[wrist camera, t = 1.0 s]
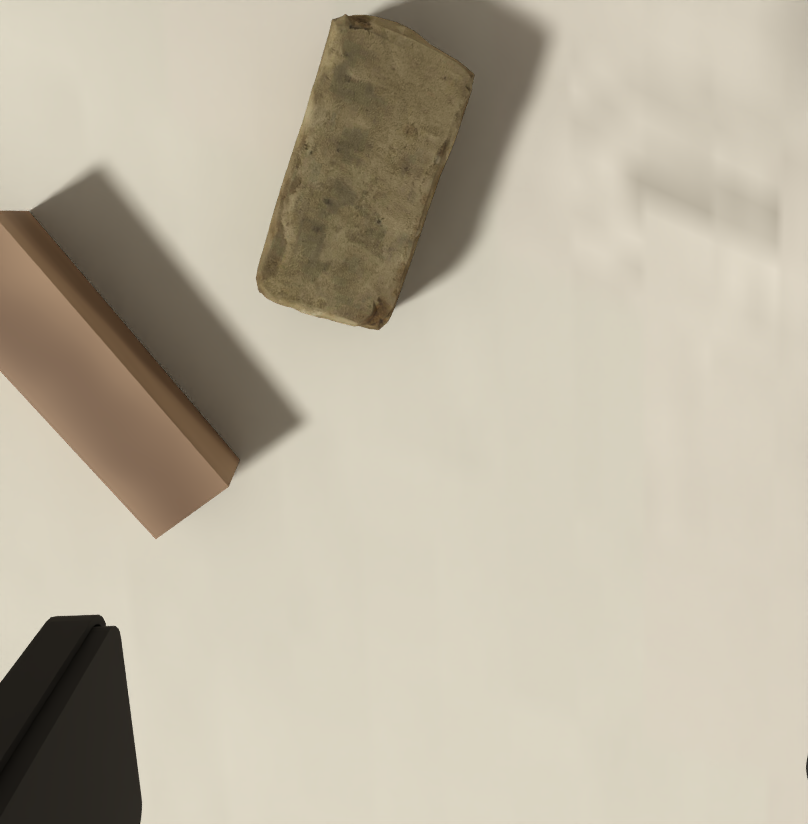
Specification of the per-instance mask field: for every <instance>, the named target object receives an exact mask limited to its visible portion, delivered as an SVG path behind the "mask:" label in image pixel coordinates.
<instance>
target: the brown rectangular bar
mask: <svg viewBox="0 0 808 824" xmlns="http://www.w3.org/2000/svg"><path fill="white" fill-rule="evenodd" d="M0 371H1V372H2V373H3V374H4V376H5V377H6V378H7V379H8V380H9V381H10V382H11V383H12V384H13V385H14V386H15V387H16V389H17V390H18V391H19V392H20V393H21V394H22V395H23V396H24V397H25V398H26V399H27V400H28V402H29V403H30V404H31V405H32V406H33V407H34V408H35V409H36V410H37V411H38V412H39V413H40V414H41V416H42V417H43V418H44V419H45V420H46V421H47V422H48V423H49V424H50V425H51V426H52V427H53V429H54V430H55V431H56V432H57V433H58V434H59V435H60V436H61V437H62V438H63V439H64V440H65V441H66V443H67V444H68V445H69V446H70V447H71V448H72V449H73V450H74V451H75V452H76V453H77V454H78V456H79V457H80V458H81V459H82V460H83V461H84V462H85V463H86V464H87V465H88V466H89V467H90V469H91V470H92V471H93V472H94V473H95V474H96V475H97V476H98V477H99V478H100V479H101V480H102V481H103V483H104V484H105V485H106V486H107V487H108V488H109V489H110V490H111V491H112V492H113V493H114V494H115V496H116V497H117V498H118V499H119V500H120V501H121V502H122V503H123V504H124V505H125V506H126V507H127V508H128V510H129V511H130V512H131V513H132V514H133V515H134V516H135V517H136V518H137V519H138V520H139V521H140V523H141V524H142V525H143V526H144V527H145V528H146V529H147V530H148V531H149V532H150V533H151V534H152V536H153V537H154V538H155V539H157V538H158V537H159V536H161V535H162V534H164V533H165V532H166V531H168V530H169V529H171V528H172V527H173V526H175V525H176V524H178V523H179V522H180V521H182V520H183V519H184V518H186V517H187V516H189V515H190V514H191V513H193V512H194V511H196V510H197V509H198V508H200V507H201V506H203V505H204V504H205V503H207V502H208V501H209V500H211V499H212V498H214V497H215V496H216V495H218V494H219V493H221V492H222V491H223V490H225V489H226V488H228V487H229V485H230V482H231V480H232V477H233V475H234V472H235V470H236V468H237V465H238V463H239V458H238V457H237V456H236V455H235V454H234V453H233V451H232V450H231V449H230V448H229V447H228V445H227V444H226V443H225V442H224V441H223V440H222V438H221V437H220V436H219V435H218V434H217V432H216V431H215V430H214V429H213V428H212V427H211V425H210V424H209V423H208V422H207V421H206V419H205V418H204V417H203V416H202V415H201V414H200V412H199V411H198V410H197V409H196V408H195V407H194V405H193V404H192V403H191V402H190V401H189V399H188V398H187V397H186V396H185V395H184V394H183V392H182V391H181V390H180V389H179V388H178V386H177V385H176V384H175V383H174V382H173V381H172V379H171V378H170V377H169V376H168V375H167V373H166V372H165V371H164V370H163V369H162V368H161V366H160V365H159V364H158V363H157V362H156V360H155V359H154V358H153V357H152V356H151V355H150V353H149V352H148V351H147V350H146V349H145V348H144V346H143V345H142V344H141V343H140V342H139V340H138V339H137V338H136V337H135V336H134V335H133V333H132V332H131V331H130V330H129V329H128V327H127V326H126V325H125V324H124V323H123V322H122V320H121V319H120V318H119V317H118V316H117V314H116V313H115V312H114V311H113V310H112V309H111V307H110V306H109V305H108V304H107V303H106V302H105V300H104V299H103V298H102V297H101V296H100V294H99V293H98V292H97V291H96V290H95V289H94V287H93V286H92V285H91V284H90V283H89V281H88V280H87V279H86V278H85V277H84V276H83V274H82V273H81V272H80V271H79V270H78V268H77V267H76V266H75V265H74V264H73V263H72V261H71V260H70V259H69V258H68V257H67V255H66V254H65V253H64V252H63V251H62V250H61V248H60V247H59V246H58V245H57V244H56V243H55V241H54V240H53V239H52V238H51V237H50V235H49V234H48V233H47V232H46V231H45V230H44V228H43V227H42V226H41V225H40V224H39V222H38V221H37V220H36V219H35V218H34V217H33V215H32V214H31V213H30V212H29V211H0Z"/></svg>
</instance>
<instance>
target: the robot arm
mask: <svg viewBox="0 0 808 824" xmlns="http://www.w3.org/2000/svg"><path fill="white" fill-rule="evenodd" d="M806 772H807V778H808V757H807V763H806ZM141 813H142V798H141V790H140V782H139V774H138V767H137V759H136V751H135V743H134V735H133V728H132V720H131V712H130V704H129V696H128V689H127V681H126V673H125V665H124V658H123V650H122V642H121V636H120V631H119V629H118V628H117V627H116V626H106V623H105V621H104V619H103V617H102V616H100V615H79V616H55V617H51V618H50V619H49V620H48V621H47V622H46V623H45V624H44V625H43V627H42V628H41V629H40V631H39V632H38V633H37V635H36V636H35V637H34V639H33V640H32V641H31V643H30V644H29V645H28V647H27V648H26V649H25V651H24V652H23V653H22V655H21V656H20V657H19V659H18V660H17V661H16V663H15V664H14V665H13V667H12V668H11V669H10V671H9V672H8V673H7V675H6V676H5V677H4V679H3V680H2V681H1V683H0V824H140V821H141Z"/></svg>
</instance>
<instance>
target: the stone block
mask: <svg viewBox="0 0 808 824" xmlns="http://www.w3.org/2000/svg"><path fill="white" fill-rule="evenodd" d="M473 79H474V74H473V73H472V72H471V71H470V70H469V69H468V68H466V67H465V66H464V65H463V64H461V63H460V62H459V61H457V60H456V59H454V58H452V57H451V56H449V55H447V54H446V53H444V52H442V51H441V50H439V49H437V48H436V47H434V46H432V45H431V44H429V43H428V42H427V41H426V40H425V39H424V38H422V37H421V36H420V35H419V34H417V33H416V32H415V31H413V30H411V29H409V28H408V27H406V26H404V25H401V24H399V23H397V22H394V21H390V20H387V19H383V18H379V17H375V16H369V15H352V16H348V15H346V14H345V15H344V16H342V17H339V18H336V19H332V22H331V26H330V31H329V35H328V38H327V42H326V45H325V49H324V52H323V56H322V59H321V63H320V66H319V69H318V73H317V76H316V79H315V82H314V85H313V88H312V91H311V95H310V98H309V102H308V105H307V109H306V112H305V116H304V119H303V122H302V125H301V128H300V131H299V134H298V137H297V140H296V143H295V146H294V149H293V152H292V155H291V158H290V161H289V165H288V168H287V171H286V173H285V177H284V180H283V183H282V186H281V189H280V193H279V196H278V199H277V203H276V206H275V209H274V213H273V216H272V219H271V223H270V227H269V231H268V235H267V238H266V242H265V245H264V248H263V252H262V255H261V258H260V262H259V266H258V270H257V276H256V281H257V286H258V290H259V292H260V293H262V294H263V295H264V296H265V297H266V298H267V299H269V300H271V301H273V302H275V303H277V304H280V305H283V306H287V307H292V308H294V309H296V310H298V311H300V312H302V313H305V314H309V315H312V316H315V317H319V318H325V319H329V320H332V321H335V322H339V323H343V324H347V325H351V326H362V327H365V328H368V329H375V330H379V329H380V328H382V327H383V326H384V325H385V324H386V323H387V322H388V320H389V319H390V317H391V315H392V313H393V310H394V308H395V305H396V303H397V300H398V297H399V294H400V292H401V289H402V286H403V283H404V280H405V277H406V274H407V271H408V269H409V266H410V263H411V260H412V257H413V254H414V251H415V248H416V245H417V242H418V239H419V237H420V234H421V231H422V228H423V225H424V222H425V219H426V215H427V212H428V209H429V207H430V204H431V201H432V198H433V196H434V193H435V190H436V187H437V184H438V181H439V177H440V175H441V173H442V171H443V168H444V166H445V164H446V161H447V159H448V157H449V154H450V152H451V149H452V147H453V144H454V142H455V139H456V136H457V133H458V130H459V127H460V124H461V121H462V118H463V115H464V112H465V109H466V106H467V103H468V100H469V97H470V94H471V91H472V84H473Z"/></svg>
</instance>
